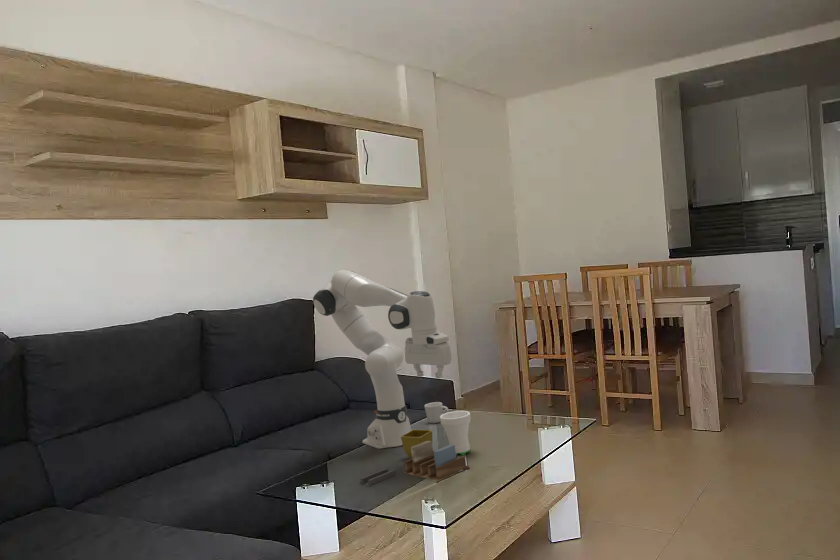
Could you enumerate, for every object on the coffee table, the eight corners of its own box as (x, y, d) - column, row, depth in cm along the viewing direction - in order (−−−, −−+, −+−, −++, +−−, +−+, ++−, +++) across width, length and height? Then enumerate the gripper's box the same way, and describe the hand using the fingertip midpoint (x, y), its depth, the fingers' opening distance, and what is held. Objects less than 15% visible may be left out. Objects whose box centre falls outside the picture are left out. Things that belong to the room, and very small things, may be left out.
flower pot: (423, 461, 240) (420, 437, 240) (403, 460, 245) (399, 436, 245) (435, 454, 248) (432, 430, 248) (416, 453, 252) (412, 429, 252)
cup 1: (453, 419, 298) (450, 401, 297) (446, 424, 290) (444, 405, 290) (430, 419, 302) (428, 402, 302) (423, 424, 295) (421, 406, 295)
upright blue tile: (436, 475, 221) (433, 451, 221) (453, 467, 226) (450, 444, 226) (440, 476, 219) (437, 451, 219) (457, 468, 225) (454, 445, 225)
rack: (403, 475, 228) (399, 449, 228) (434, 461, 238) (431, 437, 238) (437, 482, 216) (434, 455, 216) (469, 468, 226) (466, 442, 226)
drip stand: (359, 485, 223) (358, 477, 223) (385, 475, 231) (383, 467, 231) (372, 489, 218) (371, 481, 218) (398, 478, 226) (397, 470, 225)
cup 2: (473, 456, 238) (468, 417, 238) (442, 459, 241) (437, 419, 240) (476, 447, 249) (472, 409, 249) (447, 449, 252) (442, 412, 251)
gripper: (398, 339, 240) (403, 377, 240) (438, 339, 225) (443, 380, 225) (411, 336, 244) (416, 373, 244) (451, 336, 229) (456, 376, 229)
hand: (429, 377), depth 235 cm, fingers open, 8 cm apart
